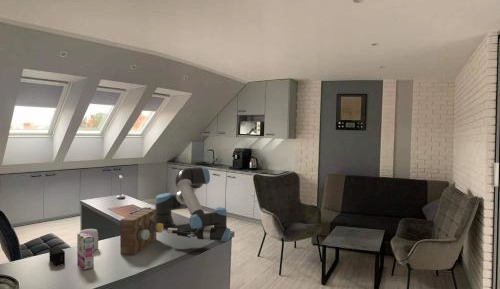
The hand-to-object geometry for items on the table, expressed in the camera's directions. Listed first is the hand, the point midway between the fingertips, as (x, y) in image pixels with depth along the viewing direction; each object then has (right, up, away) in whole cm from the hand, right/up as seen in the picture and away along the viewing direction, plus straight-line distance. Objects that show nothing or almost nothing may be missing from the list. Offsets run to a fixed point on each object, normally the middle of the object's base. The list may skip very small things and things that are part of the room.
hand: (168, 230), depth 195 cm
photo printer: (-45, -9, -8) cm, 47 cm away
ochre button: (-6, -2, +3) cm, 8 cm away
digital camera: (-53, -10, -27) cm, 60 cm away
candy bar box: (-35, -10, -31) cm, 48 cm away
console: (-17, -9, -2) cm, 20 cm away
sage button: (-11, -2, -10) cm, 15 cm away
